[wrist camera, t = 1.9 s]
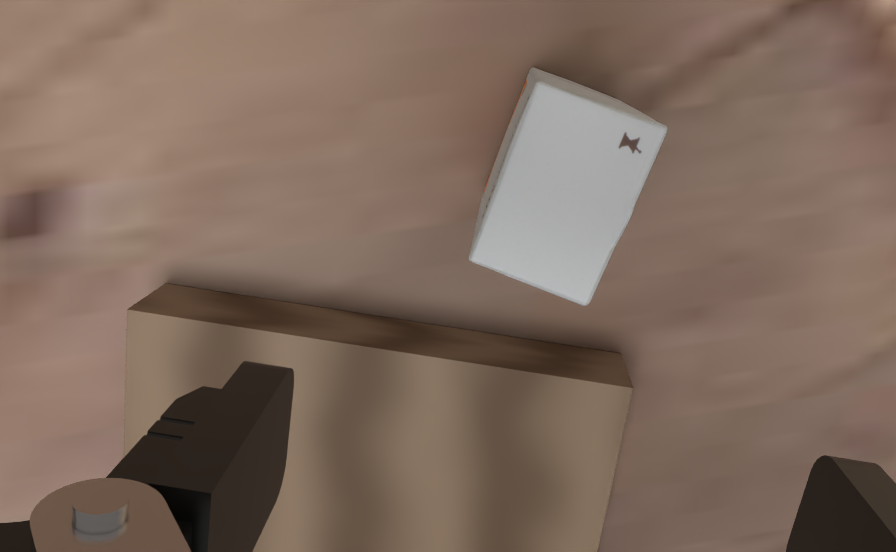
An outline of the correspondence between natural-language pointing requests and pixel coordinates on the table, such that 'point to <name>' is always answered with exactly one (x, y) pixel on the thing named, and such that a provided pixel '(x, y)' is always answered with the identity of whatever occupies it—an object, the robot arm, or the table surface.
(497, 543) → the walnut stand
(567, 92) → the skincare box
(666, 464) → the table surface
